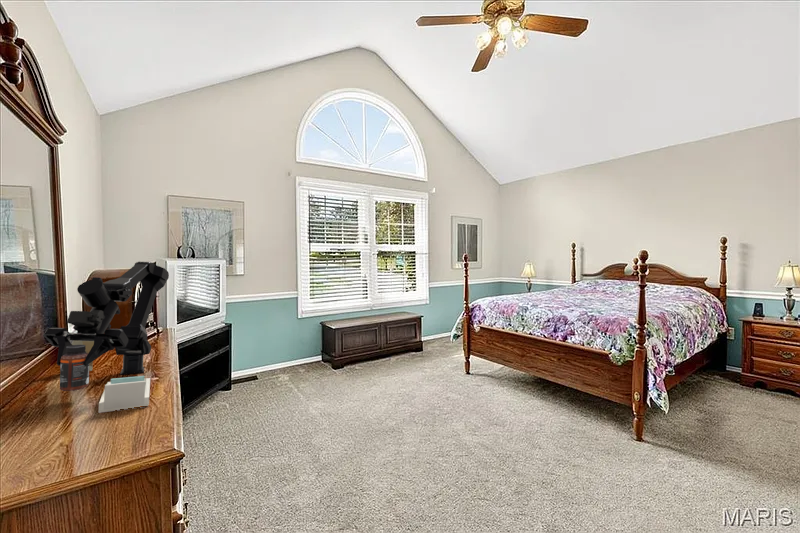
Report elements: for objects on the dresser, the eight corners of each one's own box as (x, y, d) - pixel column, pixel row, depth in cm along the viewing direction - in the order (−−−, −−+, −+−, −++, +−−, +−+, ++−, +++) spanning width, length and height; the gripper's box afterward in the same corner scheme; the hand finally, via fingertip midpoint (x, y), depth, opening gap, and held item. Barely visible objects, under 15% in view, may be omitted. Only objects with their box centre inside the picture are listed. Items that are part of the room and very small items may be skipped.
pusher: (110, 395, 104) (111, 378, 105) (143, 391, 109) (144, 375, 109) (109, 398, 102) (110, 381, 102) (143, 394, 106) (144, 378, 106)
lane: (107, 390, 111) (108, 367, 111) (149, 385, 116) (151, 364, 117) (98, 412, 94) (99, 386, 95) (148, 406, 100) (149, 381, 100)
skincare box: (69, 374, 125) (71, 336, 125) (65, 371, 128) (67, 335, 128) (93, 370, 130) (95, 334, 130) (89, 368, 133) (91, 333, 133)
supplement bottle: (94, 385, 104) (96, 344, 104) (73, 392, 98) (75, 348, 98) (74, 384, 105) (76, 343, 105) (52, 391, 99) (54, 347, 99)
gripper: (50, 298, 104) (13, 347, 93) (124, 300, 107) (97, 348, 96) (69, 322, 112) (37, 370, 101) (138, 324, 115) (115, 370, 104)
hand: (71, 364), depth 100 cm, fingers closed on supplement bottle, 6 cm apart
